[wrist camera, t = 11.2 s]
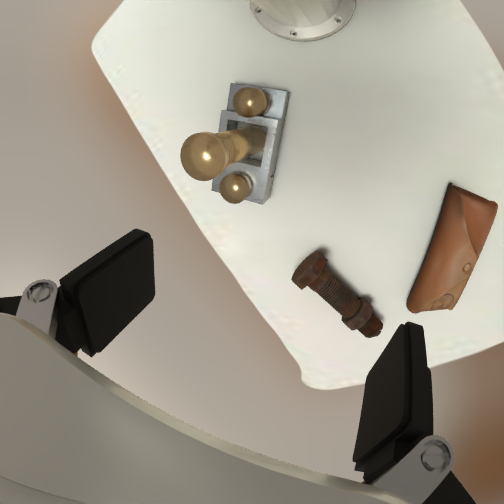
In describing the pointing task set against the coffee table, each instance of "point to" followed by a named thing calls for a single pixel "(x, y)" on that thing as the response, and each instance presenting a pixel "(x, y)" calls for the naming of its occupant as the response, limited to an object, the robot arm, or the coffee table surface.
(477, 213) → the sunglasses case
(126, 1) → the coffee table surface
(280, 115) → the brass knob on bracket
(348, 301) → the bolt
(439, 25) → the coffee table surface
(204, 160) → the link pin
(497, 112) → the coffee table surface
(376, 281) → the coffee table surface
